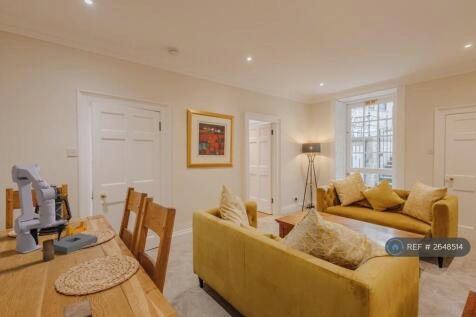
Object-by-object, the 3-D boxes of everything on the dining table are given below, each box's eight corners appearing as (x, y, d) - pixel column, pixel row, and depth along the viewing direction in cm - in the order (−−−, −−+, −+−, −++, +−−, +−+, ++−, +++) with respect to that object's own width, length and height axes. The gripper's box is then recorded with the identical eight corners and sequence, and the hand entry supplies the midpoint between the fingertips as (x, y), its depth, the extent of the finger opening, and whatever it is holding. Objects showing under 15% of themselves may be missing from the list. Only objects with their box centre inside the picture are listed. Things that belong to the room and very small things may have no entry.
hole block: (47, 248, 118) (47, 243, 118) (79, 237, 133) (78, 232, 133) (67, 253, 112) (67, 247, 112) (97, 241, 127) (97, 236, 127)
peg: (41, 260, 105) (40, 241, 105) (50, 256, 109) (50, 238, 109) (46, 262, 104) (45, 242, 104) (56, 258, 108) (55, 239, 107)
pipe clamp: (80, 230, 147) (80, 220, 146) (86, 230, 146) (86, 220, 146) (63, 237, 135) (63, 226, 135) (69, 237, 134) (69, 226, 134)
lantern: (33, 238, 133) (32, 187, 132) (31, 232, 143) (29, 185, 142) (75, 229, 147) (74, 183, 146) (69, 224, 158) (68, 181, 157)
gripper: (25, 218, 98) (26, 249, 99) (66, 213, 107) (67, 241, 108) (27, 215, 104) (28, 244, 104) (66, 210, 113) (67, 236, 113)
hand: (48, 242), depth 106 cm, fingers open, 7 cm apart
